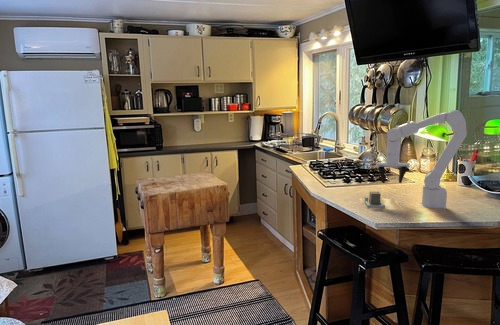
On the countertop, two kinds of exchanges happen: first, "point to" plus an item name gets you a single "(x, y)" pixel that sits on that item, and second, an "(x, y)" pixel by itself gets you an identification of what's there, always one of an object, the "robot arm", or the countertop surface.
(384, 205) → the holder
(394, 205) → the board
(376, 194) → the plug
